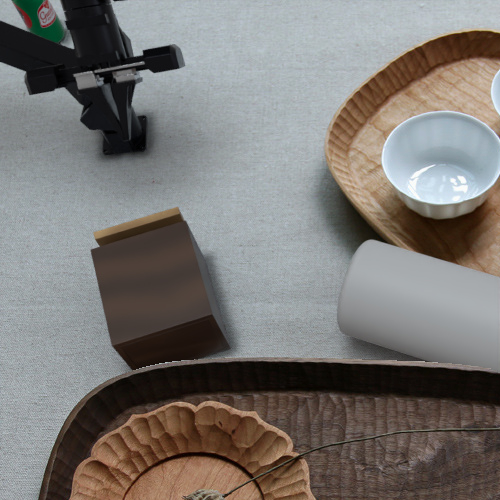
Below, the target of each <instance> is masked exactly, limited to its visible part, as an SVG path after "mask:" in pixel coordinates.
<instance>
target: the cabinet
mask: <svg viewBox="0 0 500 500" xmlns="http://www.w3.org/2000/svg"><path fill="white" fill-rule="evenodd" d="M184 220H185V219H184ZM90 255H91V259H92V263H93V268H94V273H95V277H96V281H97V286H98V290H99V295H100V300H101V304H102V309H103V313H104V317H105V321H106V326H107V327H106V328H107V330H108V331H107V332H108V335H109V340H110V345H111V347H112V348H113V349H114V350H115V351H116V352H117V354H118V355H119V356H120V358H121V359H122V360H123V361H124V363H126V365H127V366H128V368H130V369H131V371H132V370H136V369H139V368H142V367H146V366H150V365H155V364H159V363H165V362H172V361H181V360H194V359H197V360H199V359H204V358H206V357H209V356H213V355H215V354H219V353H222V352H225V351H228V350H231V349H232V347H231V344H230V341H229V340H230V339H229V336H228V333H227V329H226V326H225V323H224V319H223V316H222V312H221V309H220V305H219V302H218V298H217V295H216V291H215V288H214V284H213V281H212V278H211V274H210V270H209V268H208V267H209V266H208V262H207V260H206V258H205V256H204V254H203V252H202V250H201V248H200V246H199V244H198V242H197V240H196V237H195V236H194V234H193V232H192V230H191V228H190V226H189V223H188V222H187V220H185V221H182V222H179V223H175V224H172V225H169V226H165V227H162V228H159V229H156V230H152V231H149V232H146V233H143V234H139V235H136V236H133V237H130V238H126V239H123V240H120V241H116V242H113V243H110V244H107V245H103V246H96V247H94V248H91V249H90ZM194 361H195V360H194Z"/></svg>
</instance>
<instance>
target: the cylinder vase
mask: <svg viewBox="0 0 500 500" xmlns="http://www.w3.org/2000/svg"><path fill="white" fill-rule="evenodd" d="M336 322H337V326H338V329H339V330H340V332H341V333H342V334H343V335H345V336H348V337H351V338H354V339H358V340H360V341H364V342H367V343H369V344H372V345H376V346H379V347H382V348H385V349H388V350H392V351H395V352H398V353H401V354H404V355H407V356H410V357H413V358H416V359H420V360H423V361H426V362H429V363H432V362H438V363H452V364H462V365H471V366H479V367H483V368H491V369H489V370H495V372H498V373H500V276H498V275H494V274H492V273H491V274H490V273H489V272H488V273H487V272H484V271H481V270H477V269H474V268H471V267H467V266H463V265H460V264H457V263H455V262H451V261H446V260H443V259H441V258H436V257H434V256H430V255H427V254H423V253H420V252H416V251H413V250H410V249H406V248H403V247H401V246H396V245H393V244H389V243H386V242H382V241H380V240H376V239H368V240H365V241H363V242H362V243H361V244H360V245H359V246H358V248H357V249H356V250H355V252H354V253H353V255H352V257H351V259H350V261H349V263H348V265H347V267H346V271H345V273H344V277H343V280H342V283H341V286H340V291H339V295H338V300H337V308H336Z"/></svg>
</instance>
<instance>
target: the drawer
mask: <svg viewBox="0 0 500 500" xmlns="http://www.w3.org/2000/svg"><path fill="white" fill-rule="evenodd" d="M182 221H185V218H184V216H183V214H182V212H181V210H180V208H179V206H175V207H172V208H169V209H166V210H162V211H158V212H156V213H153V214H149V215H146V216H142V217H139V218H136V219H133V220H130V221H126V222H123V223H119V224H116V225H112V226H110V227H106V228H103V229H100V230H97V231H93V238H94V240H95V242H96V244H97V246H98V247H100V246H103V245H107V244H110V243H113V242H116V241H120V240H123V239H126V238H130V237H133V236H136V235H139V234H143V233H146V232H149V231H152V230H156V229H159V228H162V227H165V226H169V225H172V224H175V223H179V222H182Z"/></svg>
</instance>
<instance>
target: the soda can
mask: <svg viewBox="0 0 500 500" xmlns="http://www.w3.org/2000/svg"><path fill="white" fill-rule="evenodd" d="M10 1H11V3H12V4H13V6H14V8H15V9H16V11H17V13H18V15H19V16H20V18H21V20H22V21H23V23H24V25H25V27H26V28H27V31H28V32H31V33H33V34H36V35H38V36H41V37H43V38H46V39H48V40H51V41H53V42H56V43H58V44H60V42H61V41H62V40H63V38H64V37H65V32H66V30H65V27H64V25H63V23H62V22H61V20H60V18H59V16H58V13H57V12H56V10H55V8H54V6H53V4H52V2H51V0H10Z"/></svg>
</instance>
